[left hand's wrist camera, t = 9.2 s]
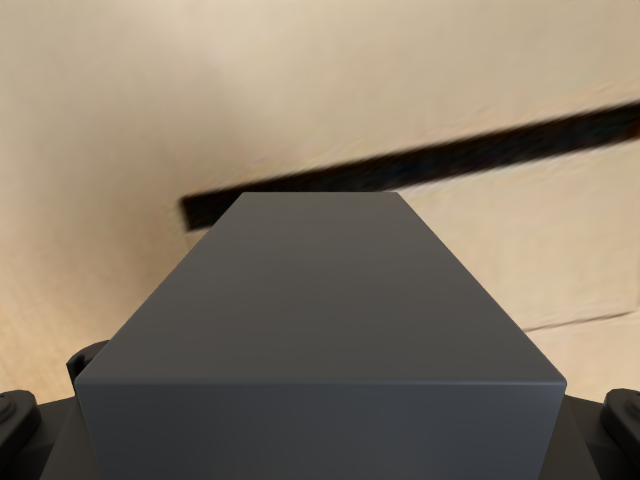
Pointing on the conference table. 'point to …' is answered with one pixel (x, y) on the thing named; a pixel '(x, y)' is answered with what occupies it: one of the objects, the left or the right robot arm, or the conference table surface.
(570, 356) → the conference table surface
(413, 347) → the box
